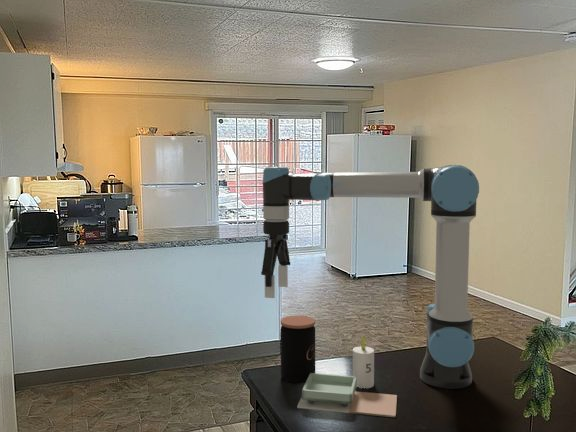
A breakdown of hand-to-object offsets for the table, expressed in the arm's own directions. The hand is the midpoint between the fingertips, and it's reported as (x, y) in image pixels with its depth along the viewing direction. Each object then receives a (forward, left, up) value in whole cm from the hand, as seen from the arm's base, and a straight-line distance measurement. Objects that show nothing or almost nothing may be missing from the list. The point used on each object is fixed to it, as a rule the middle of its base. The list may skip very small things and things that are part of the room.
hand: (276, 292), depth 160 cm
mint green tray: (-17, +9, -28) cm, 34 cm away
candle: (-25, -4, -28) cm, 38 cm away
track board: (-22, +9, -28) cm, 37 cm away
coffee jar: (-5, -5, -28) cm, 29 cm away
